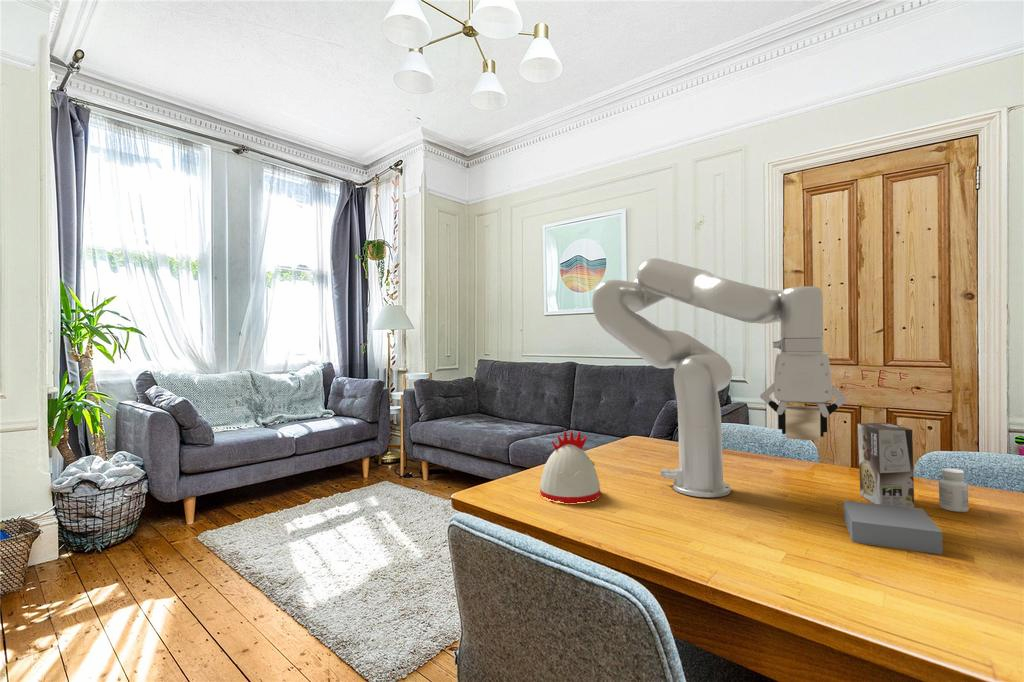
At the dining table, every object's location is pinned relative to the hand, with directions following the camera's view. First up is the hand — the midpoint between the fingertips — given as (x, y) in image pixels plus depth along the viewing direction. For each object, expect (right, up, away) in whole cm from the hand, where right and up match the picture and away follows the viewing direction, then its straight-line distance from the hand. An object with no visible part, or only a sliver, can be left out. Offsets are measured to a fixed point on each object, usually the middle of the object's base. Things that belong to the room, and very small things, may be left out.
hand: (802, 433), depth 102 cm
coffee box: (+19, -15, +2) cm, 24 cm away
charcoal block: (+7, -16, -15) cm, 23 cm away
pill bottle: (+29, -15, -3) cm, 33 cm away
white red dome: (-46, -17, +13) cm, 51 cm away
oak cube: (0, -1, 0) cm, 1 cm away
